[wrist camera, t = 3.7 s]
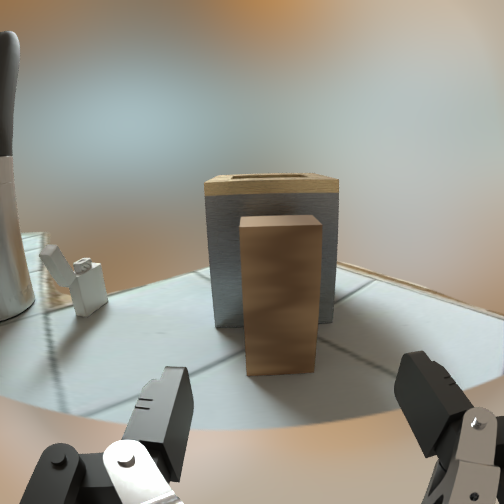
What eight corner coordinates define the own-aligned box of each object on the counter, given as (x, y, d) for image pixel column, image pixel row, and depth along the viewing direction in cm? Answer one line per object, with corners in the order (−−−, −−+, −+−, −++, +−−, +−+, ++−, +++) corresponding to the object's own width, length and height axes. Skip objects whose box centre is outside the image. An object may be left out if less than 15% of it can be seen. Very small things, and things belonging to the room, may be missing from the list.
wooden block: (246, 375, 19) (239, 227, 17) (247, 350, 22) (241, 216, 19) (313, 372, 19) (322, 224, 17) (307, 347, 22) (312, 214, 19)
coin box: (215, 327, 26) (204, 182, 22) (224, 282, 35) (218, 175, 32) (332, 322, 26) (338, 179, 22) (311, 279, 35) (313, 173, 32)
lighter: (97, 298, 31) (84, 228, 29) (109, 300, 31) (96, 228, 29) (57, 328, 25) (36, 248, 22) (68, 331, 24) (47, 248, 22)
